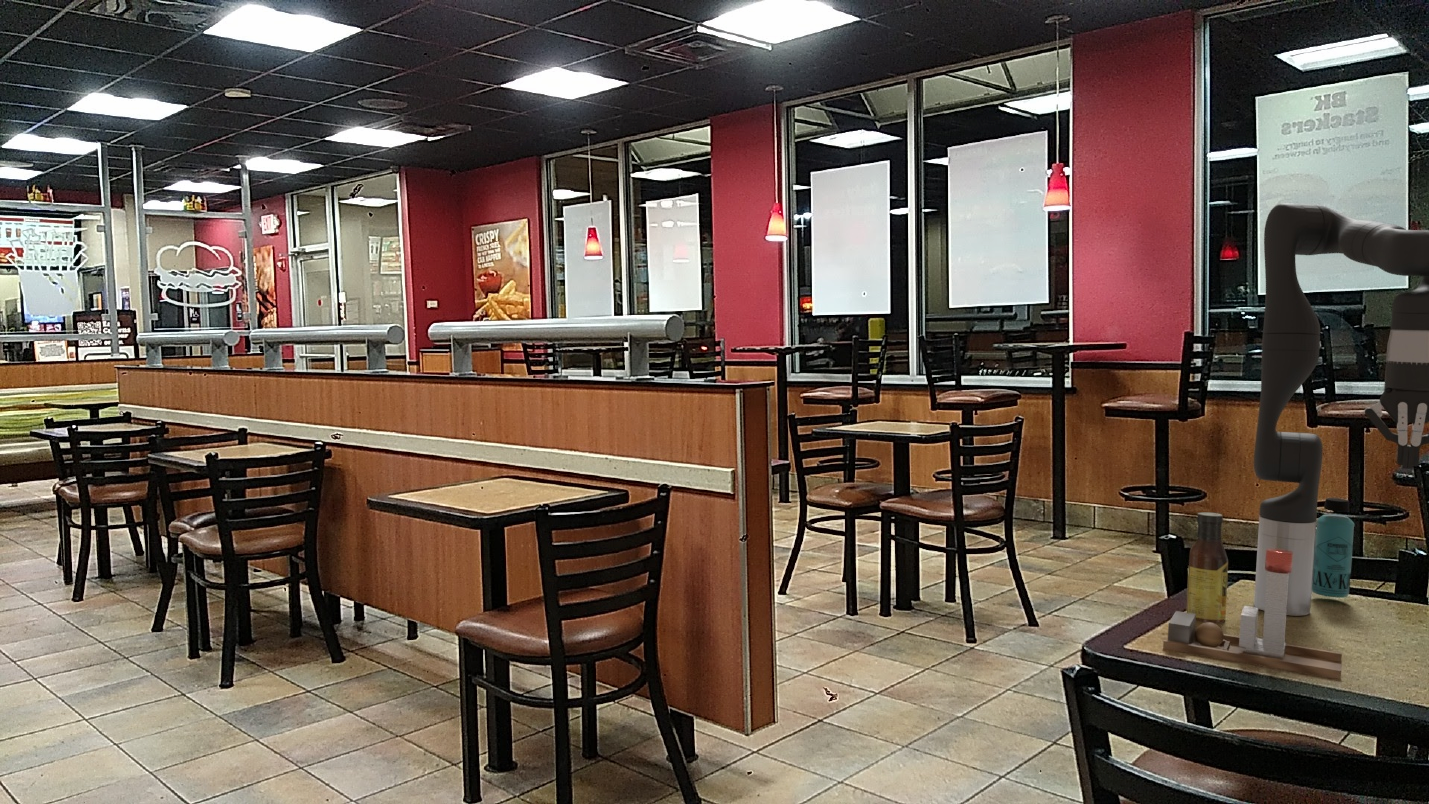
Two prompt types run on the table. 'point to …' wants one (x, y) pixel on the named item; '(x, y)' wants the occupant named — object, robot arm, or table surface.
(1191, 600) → the sauce bottle
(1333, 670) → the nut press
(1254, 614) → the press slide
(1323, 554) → the beverage bottle
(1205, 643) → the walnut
